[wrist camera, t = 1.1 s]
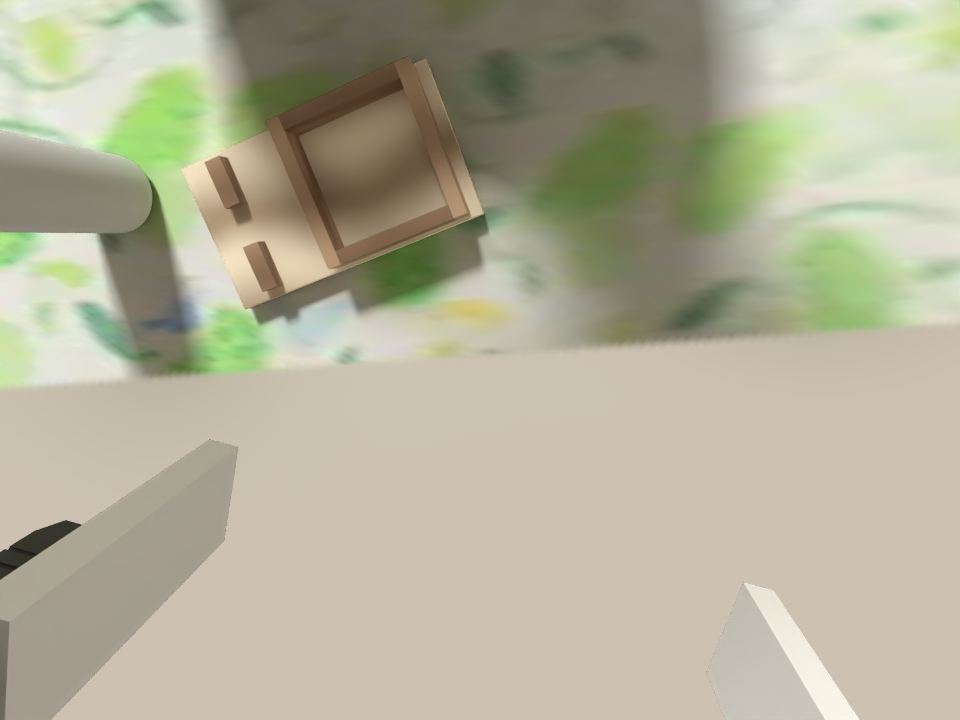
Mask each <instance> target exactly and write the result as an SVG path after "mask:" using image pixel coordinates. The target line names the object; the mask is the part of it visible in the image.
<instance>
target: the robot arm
mask: <svg viewBox="0 0 960 720" xmlns="http://www.w3.org/2000/svg"><path fill="white" fill-rule="evenodd" d="M237 453H238V447H236V446H233V445H229V444H225V443H221V442H218V441H214V440H210V439H209V440H208V441H206V442H205V443H203V444H202V445H201V446H199V447H198V448H196V449H195V450H193V451H192V452H190V453H189V454H187V455H186V456H184V457H183V458H181V459H180V460H178V461H177V462H175V463H174V464H172V465H171V466H169V467H168V468H166V469H165V470H163V471H162V472H160V473H159V474H157V475H156V476H154V477H153V478H151V479H150V480H148V481H147V482H146V483H144V484H142V485H141V486H139V487H138V488H137V489H135V490H133V491H132V492H130V493H129V494H127V495H126V496H125V497H123V498H122V499H120V500H119V501H117V502H116V503H114V504H113V505H111V506H110V507H108V508H107V509H106V510H104V511H102V512H101V513H99V514H98V515H96V516H95V517H93V518H92V519H90V520H89V521H88V522H86V523H84V524H83V525H81V524H77V523H74V522H70V521H67V520H65V521H62V522H59V523H56V524H53V525H50V526H48V527H45V528H42V529H39V530H36V531H34V532H32V533H31V534H29V535H28V536H26V537H24V538H22V539H21V540H19V541H18V542H16V543H14V544H13V545H11V546H10V548H9V549H8V550H6V549H5V550H3V551H1V552H0V720H51V719H52V718H53V717H54V716H55V715H56V714H57V713H58V712H59V711H60V710H61V709H62V708H63V707H64V706H65V705H66V704H67V702H69V701H70V699H71V698H72V697H73V696H74V695H75V694H76V693H77V692H78V691H79V690H80V689H81V688H82V687H83V686H84V685H85V684H86V683H87V682H88V681H89V680H90V679H91V678H92V677H93V676H94V675H95V674H96V673H97V672H98V671H99V670H100V669H101V667H102V666H103V665H104V664H105V663H106V662H107V661H108V660H109V659H110V658H111V657H112V656H113V655H114V654H115V653H116V652H117V651H118V650H119V649H120V648H121V647H122V646H123V645H124V644H125V643H126V642H127V641H128V640H129V639H130V637H132V635H133V634H134V633H135V632H136V631H137V630H138V629H139V628H140V627H141V626H142V625H143V624H144V623H145V622H146V621H147V620H148V619H149V618H150V617H151V616H152V615H153V614H154V613H155V612H156V611H157V610H158V609H159V608H160V607H161V606H162V604H163V603H164V602H165V601H166V600H167V599H168V598H169V597H170V596H171V595H172V594H173V593H174V592H175V591H176V590H177V589H178V588H179V587H180V586H181V585H182V583H184V582H185V581H186V580H187V579H188V578H189V577H190V576H191V574H192V573H193V572H194V571H195V570H196V569H197V568H198V567H199V566H200V565H201V564H202V563H203V562H204V561H205V560H206V559H207V558H208V557H209V556H210V555H211V554H212V553H213V552H214V551H215V550H216V549H217V548H218V547H219V545H220V544H221V543H222V542H223V541H224V539H225V532H226V526H227V519H228V513H229V506H230V499H231V493H232V485H233V479H234V473H235V466H236V460H237ZM706 672H707V675H708V677H709V680H710V682H711V685H712V687H713V690H714V693H715V695H716V698H717V700H718V703H719V705H720V708H721V711H722V713H723V716H724V718H725V720H859V719H858V717H857V716H856V714H855V713H854V711H853V709H852V708H851V706H850V705H849V703H848V702H847V701H846V699H845V697H844V696H843V694H842V693H841V691H840V690H839V689H838V687H837V686H836V684H835V682H834V681H833V679H832V678H831V676H830V675H829V673H828V672H827V670H826V669H825V667H824V666H823V664H822V663H821V661H820V660H819V658H818V657H817V655H816V654H815V652H814V651H813V649H812V648H811V646H810V645H809V643H808V642H807V640H806V638H805V637H804V635H803V634H802V633H801V631H800V629H799V628H798V626H797V625H796V624H795V622H794V620H793V619H792V617H791V616H790V614H789V613H788V611H787V610H786V608H785V607H784V605H783V604H782V602H781V601H780V599H779V598H778V596H777V595H776V593H775V592H774V590H770V589H767V588H763V587H759V586H756V585H752V584H748V583H743V585H742V587H741V589H740V592H739V594H738V596H737V599H736V602H735V604H734V606H733V609H732V611H731V613H730V616H729V618H728V621H727V623H726V626H725V628H724V630H723V633H722V635H721V638H720V640H719V642H718V645H717V647H716V650H715V652H714V655H713V657H712V659H711V662H710V664H709V667H708V669H707V671H706Z"/></svg>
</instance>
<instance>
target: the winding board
mask: <svg viewBox="0 0 960 720" xmlns="http://www.w3.org/2000/svg"><path fill="white" fill-rule="evenodd" d="M265 123H266V125H267V127H268V130H266V131H264V132H262V133H260V134H257V135H255V136H253V137H251V138H249V139H247V140H244V141H242V142H240V143H238V144H236V145H233V146H231V147H229V148H227V149H225V150H222V151H220V152H218V153H216V154H214V155H211V156H209V157H207V158H205V159H203V160H200V161H198V162H196V163H194V164H192V165H189V166H187V167H185V168H183V169H181V170H182V172H183V174H184V176H185V179H186V181H187V183H188V185H189V187H190V190H191V192H192V194H193V196H194V198H195V201H196V203H197V205H198V207H199V209H200V212H201V214H202V216H203V218H204V220H205V222H206V225H207V227H208V229H209V231H210V233H211V236H212V238H213V240H214V242H215V244H216V247H217V249H218V251H219V253H220V255H221V257H222V260H223V262H224V264H225V266H226V268H227V271H228V273H229V275H230V277H231V279H232V282H233V284H234V286H235V288H236V290H237V293H238V295H239V297H240V299H241V301H242V303H243V306H244V308H245V309H248V308H252V307H255V306H258V305H260V304H263V303H265V302H268V301H270V300H273V299H275V298H278V297H280V296H283V295H285V294H288V293H290V292H293V291H295V290H298V289H300V288H303V287H305V286H308V285H310V284H312V283H315V282H317V281H320V280H322V279H325V278H327V277H330V276H332V275H335V274H337V273H340V272H342V271H345V270H347V269H350V268H352V267H355V266H357V265H360V264H362V263H365V262H367V261H370V260H372V259H374V258H377V257H379V256H382V255H384V254H387V253H389V252H392V251H394V250H397V249H399V248H402V247H404V246H407V245H409V244H412V243H414V242H417V241H419V240H422V239H424V238H427V237H429V236H432V235H434V234H437V233H439V232H441V231H444V230H446V229H449V228H451V227H454V226H456V225H459V224H461V223H464V222H466V221H469V220H471V219H474V218H476V217H479V216H481V215H484V211H483V208H482V205H481V203H480V200H479V197H478V195H477V192H476V189H475V187H474V184H473V181H472V179H471V176H470V173H469V171H468V168H467V165H466V163H465V160H464V157H463V155H462V152H461V149H460V146H459V144H458V141H457V138H456V136H455V133H454V130H453V128H452V125H451V122H450V120H449V117H448V114H447V112H446V109H445V106H444V104H443V101H442V98H441V96H440V93H439V90H438V87H437V85H436V82H435V79H434V77H433V74H432V71H431V69H430V66H429V64H428V62H427V60H426V59H425V58H424V59H422V60H420V61H418V62H416V63H412V62H411V60H410V59H409V57H408V56H406V57H404V58H402V59H400V60H398V61H395V62H393V63H391V64H389V65H387V66H385V67H382V68H380V69H378V70H376V71H374V72H372V73H369V74H367V75H365V76H363V77H361V78H358V79H356V80H354V81H352V82H350V83H348V84H345V85H343V86H341V87H339V88H337V89H334V90H332V91H330V92H328V93H326V94H324V95H321V96H319V97H317V98H315V99H313V100H310V101H308V102H306V103H304V104H302V105H300V106H297V107H295V108H293V109H291V110H289V111H286V112H284V113H282V114H280V115H278V116H276V117H273V118H271V119H269V120H267V121H265Z"/></svg>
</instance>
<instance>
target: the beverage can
mask: <svg viewBox="0 0 960 720" xmlns="http://www.w3.org/2000/svg"><path fill="white" fill-rule="evenodd" d="M151 207H152V190H151V186H150V182H149V180H148V178H147V176H146V174H145V173H144V172H143V170H142V169H141V168H140V167H139V166H138V165H137V164H136V163H134V162H133V161H131V160H129V159H128V158H125V157H122V156H119V155H115V154H110V153H105V152H100V151H95V150H90V149H85V148H80V147H75V146H70V145H65V144H61V143H56V142H51V141H46V140H42V139H37V138H33V137H28V136H24V135H19V134H15V133H10V132H6V131H1V130H0V232H33V233H126V232H131V231H133V230H135V229H137V228H139V227H140V226H141V225H142V224H143V223H144V222H145V221H146V219H147V217H148V215H149V214H150V211H151Z"/></svg>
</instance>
